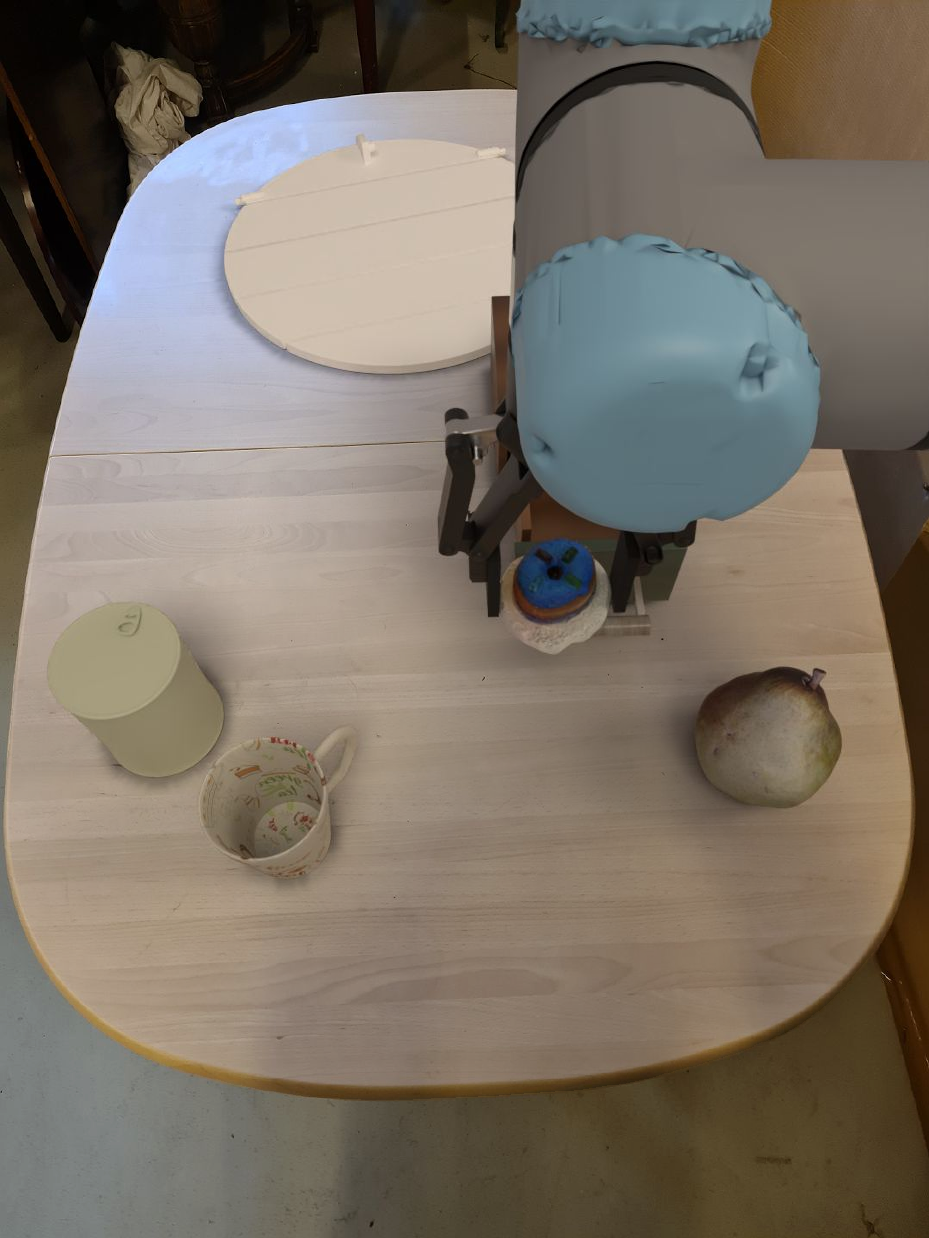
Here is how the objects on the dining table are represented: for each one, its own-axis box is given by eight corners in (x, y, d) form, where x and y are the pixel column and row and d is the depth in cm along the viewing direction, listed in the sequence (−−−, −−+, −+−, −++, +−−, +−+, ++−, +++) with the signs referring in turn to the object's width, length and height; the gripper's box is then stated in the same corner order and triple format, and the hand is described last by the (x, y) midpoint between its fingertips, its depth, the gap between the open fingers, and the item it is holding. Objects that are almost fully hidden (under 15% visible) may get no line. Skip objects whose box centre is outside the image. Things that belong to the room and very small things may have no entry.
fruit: (824, 731, 68) (887, 663, 57) (806, 843, 63) (870, 791, 53) (696, 692, 70) (734, 618, 59) (670, 798, 65) (706, 739, 55)
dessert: (540, 522, 60) (584, 510, 54) (598, 590, 61) (647, 584, 56) (466, 602, 57) (504, 598, 52) (529, 670, 59) (572, 673, 54)
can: (238, 680, 71) (197, 607, 60) (202, 786, 66) (151, 726, 56) (133, 664, 72) (74, 588, 61) (90, 767, 67) (19, 705, 57)
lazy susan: (204, 177, 105) (196, 150, 102) (508, 121, 110) (509, 93, 107) (256, 409, 86) (248, 384, 83) (622, 329, 91) (627, 302, 88)
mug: (212, 852, 64) (170, 812, 55) (319, 723, 69) (296, 668, 60) (297, 919, 61) (267, 887, 53) (402, 780, 66) (391, 730, 58)
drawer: (679, 661, 70) (700, 613, 63) (515, 666, 70) (519, 619, 63) (646, 468, 80) (661, 409, 73) (503, 472, 80) (505, 414, 73)
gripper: (808, 264, 39) (698, 545, 59) (362, 279, 39) (401, 556, 59) (850, 384, 36) (717, 641, 55) (357, 401, 36) (401, 652, 55)
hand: (554, 597), depth 57 cm, fingers closed on dessert, 8 cm apart
